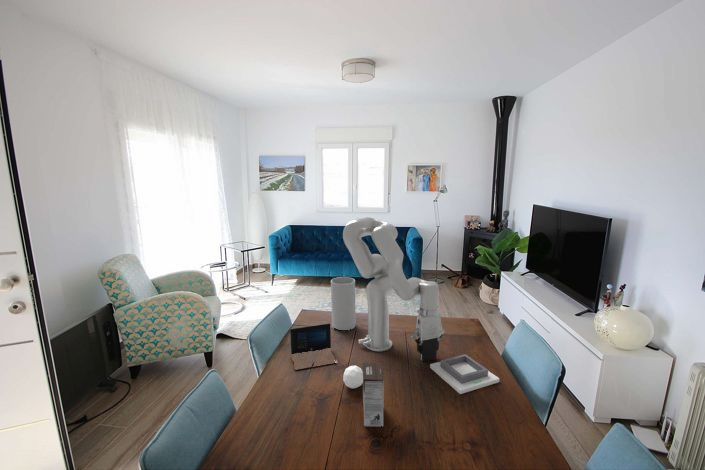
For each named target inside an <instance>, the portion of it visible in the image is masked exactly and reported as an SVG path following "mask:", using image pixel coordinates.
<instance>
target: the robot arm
mask: <svg viewBox="0 0 705 470" xmlns="http://www.w3.org/2000/svg"><path fill="white" fill-rule="evenodd" d="M398 235H399V233H398V230H397V227H395V226H394V225H393V224H391V223H389V222H386V221H382V220H380V219H377V218H373V217H361V218H356V219H352V220H350V221H349V222H348V223H346V225H345V226H344V227H343V231H342V239H343V243H344V245H345V247H346V249H348V251H349V253H350V256H351V258H352V260H353V262H354V264H355V266H356V268H357V270H358V272H359V274H360V275H361V277H362V278H364V279H371V278H373V277H374V279H372V280H370V281H369V282H368V284H367V285H366V287H365V295H366V301H367V334H366V335H365V337H364V338H360V339H357V341H358V344H359V345H360V344H363V346H365V348H367V349H368V350H370V351H373V352H386V351H388V350H390V349H392V347H393V341H392V340H391V339H390V335H389V334H390V331H389V330H390V327H389V326H390V316H389V315H390V312H389V311H390V310H389V309H390V307H389V303H388V297H389V296H390V295H391V294H393V293H394V292H395V294H396V295H397V296H398V298H400V300H403V301H405V302H406V301H407V302H408V301H411V300H413V299H415V297H417V296H419V308H418V309H417V311H416V312H417V319H416V326H415V331H414V332H413V333H412V334H411V336H410V337H411V339H412V340H413V341H414V342H415V343H416V351H417V352H418V353H419V354H420V355H421V354H423V345H422V343H423V341H424V340H429V339H433V338H437V351H439V346H440V341H441V338H442V337H444V336H443V335H444V334H445V332H446V330H445V329H444V328H443V326H442V319H441V314H440V313H439V300H440V299H439V296H440V295H439V293H440V285H439V284H438V283H437V282H435V281H432V280H424V279H421V278H419V277H415V276H414V277H410V278H408V279H407V278H406V275H405V273H404V271H403V261H404V252H403V250H402V249H401V247H400V246H399V244H398V243H397V240H396V239H397V238H398ZM366 236H370V237H371V239H372V242H373V243H374V245H375V247H376V248H377V250H378V251H379V253H380V254H379V253H372V252H371V250H370V249H369V246H368V245H367V243H366V242H365V241H364V240H363V239H362V238H364V237H366ZM420 339H421V340H420Z"/></svg>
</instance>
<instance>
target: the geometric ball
mask: <svg viewBox="0 0 705 470" xmlns="http://www.w3.org/2000/svg"><path fill="white" fill-rule="evenodd" d="M342 380H343V383H344V384H345V386H346V387H348V388H349V389H357V388H359V387H360V386H363V368H361V367H359V366H357V365H350V366H348V367H347V368H345V369H344V373H343V377H342Z"/></svg>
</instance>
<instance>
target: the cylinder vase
mask: <svg viewBox="0 0 705 470" xmlns="http://www.w3.org/2000/svg"><path fill="white" fill-rule="evenodd" d="M330 301H331V303H330V304H331V305H330V306H331V308H330V309H331V327H332V326H333V327H334V328H336V329H339V330H348V331H351V330H353V329H355V327H356V321H357V320H356V316H357V315H356V280H355V278H352V277H349V276H347V277H346V276H339V277H333V278H332V279H331V280H330ZM333 327H332V328H333ZM334 328H333V329H334ZM350 329H351V330H350Z"/></svg>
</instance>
